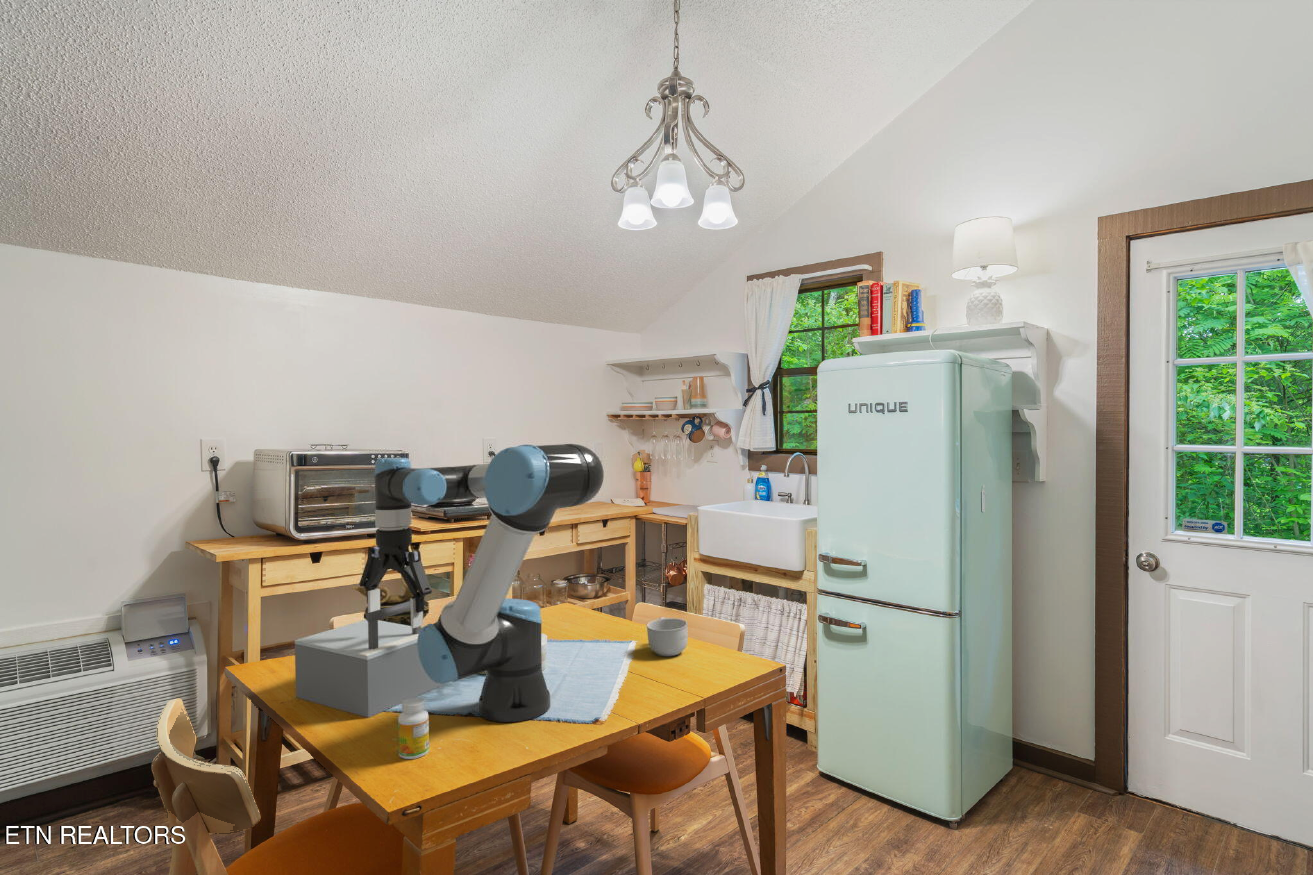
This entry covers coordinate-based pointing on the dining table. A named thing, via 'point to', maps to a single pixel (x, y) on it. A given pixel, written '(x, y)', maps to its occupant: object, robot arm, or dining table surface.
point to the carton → (360, 679)
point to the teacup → (667, 636)
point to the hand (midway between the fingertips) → (395, 622)
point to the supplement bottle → (413, 729)
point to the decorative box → (393, 600)
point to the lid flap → (366, 635)
